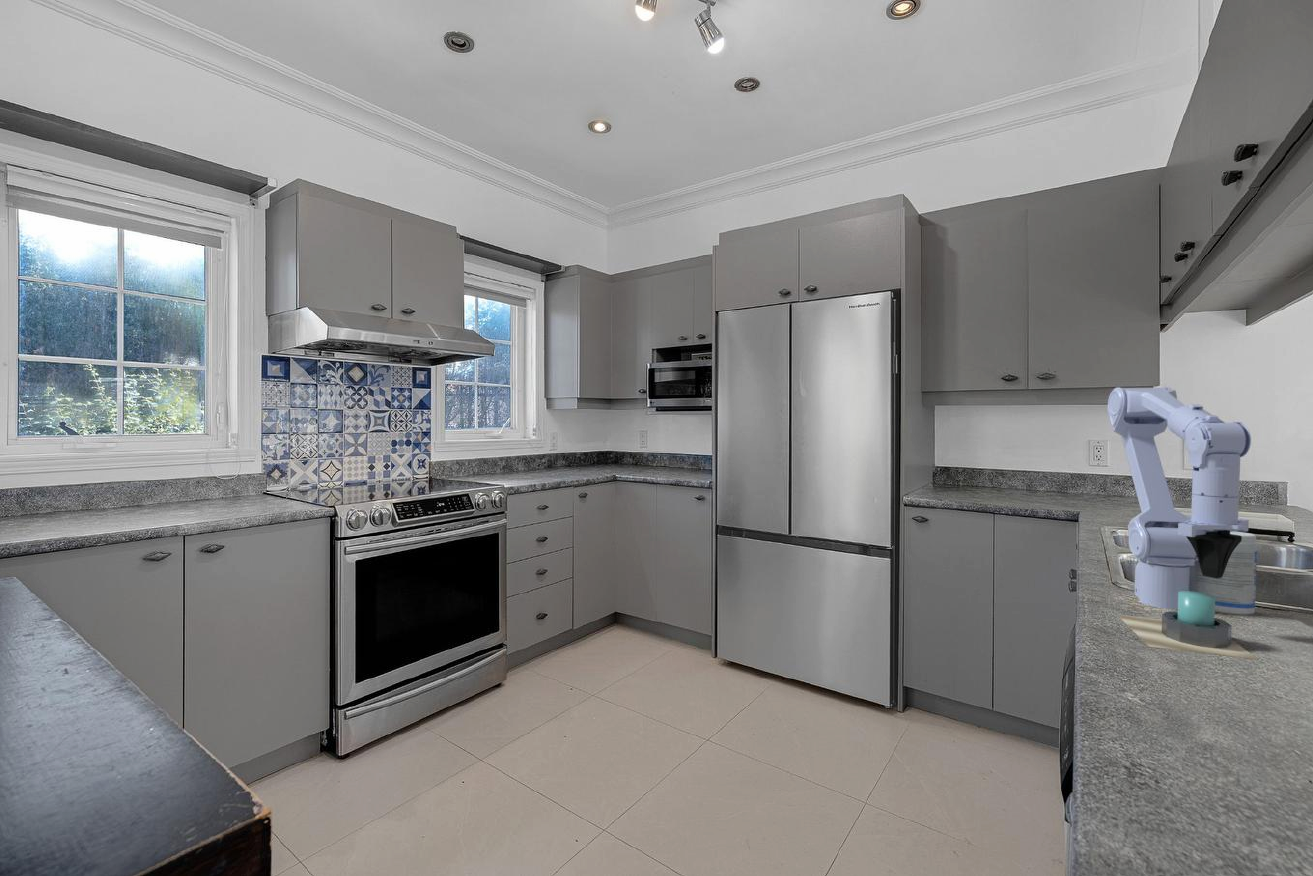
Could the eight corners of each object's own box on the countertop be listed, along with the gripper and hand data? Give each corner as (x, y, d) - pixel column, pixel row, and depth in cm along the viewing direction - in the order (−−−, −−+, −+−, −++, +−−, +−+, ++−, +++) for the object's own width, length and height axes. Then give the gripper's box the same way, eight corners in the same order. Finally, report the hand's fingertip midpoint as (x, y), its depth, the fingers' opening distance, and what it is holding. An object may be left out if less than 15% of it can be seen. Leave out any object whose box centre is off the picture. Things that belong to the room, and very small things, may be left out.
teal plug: (1172, 631, 100) (1173, 589, 100) (1206, 635, 98) (1207, 592, 98) (1183, 641, 96) (1185, 597, 95) (1219, 645, 94) (1220, 600, 94)
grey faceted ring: (1154, 626, 102) (1155, 609, 102) (1215, 633, 99) (1216, 615, 99) (1173, 643, 95) (1174, 624, 95) (1240, 651, 92) (1241, 631, 92)
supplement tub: (1269, 619, 108) (1274, 537, 108) (1211, 616, 109) (1215, 534, 109) (1224, 604, 117) (1228, 528, 117) (1171, 601, 119) (1175, 526, 118)
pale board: (1116, 620, 108) (1117, 614, 108) (1209, 630, 103) (1209, 624, 103) (1149, 652, 94) (1149, 646, 94) (1258, 666, 89) (1259, 659, 89)
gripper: (1215, 500, 94) (1212, 587, 94) (1273, 496, 99) (1269, 578, 99) (1164, 494, 100) (1162, 575, 101) (1220, 491, 105) (1218, 568, 106)
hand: (1212, 576), depth 101 cm, fingers closed
